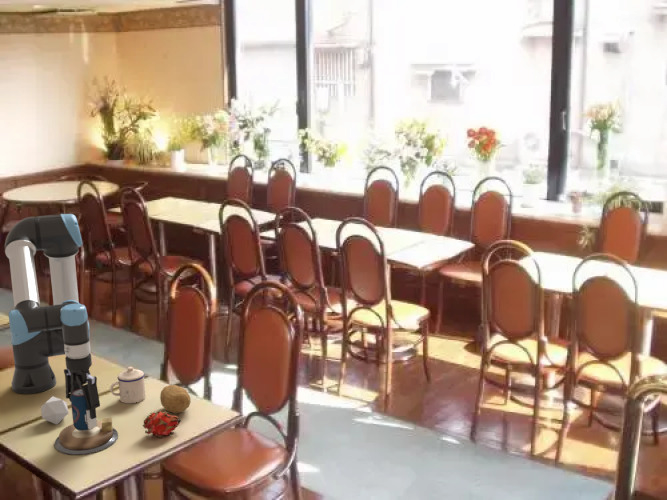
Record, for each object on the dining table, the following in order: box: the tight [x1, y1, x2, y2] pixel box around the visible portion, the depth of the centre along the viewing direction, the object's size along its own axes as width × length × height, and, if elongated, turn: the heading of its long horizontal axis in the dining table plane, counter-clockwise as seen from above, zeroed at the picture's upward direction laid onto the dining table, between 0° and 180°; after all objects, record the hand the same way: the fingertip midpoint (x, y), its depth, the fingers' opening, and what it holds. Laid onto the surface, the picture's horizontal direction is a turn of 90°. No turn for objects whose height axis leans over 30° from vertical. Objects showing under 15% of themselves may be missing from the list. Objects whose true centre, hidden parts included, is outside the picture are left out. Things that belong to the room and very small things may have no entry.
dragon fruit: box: [142, 411, 181, 439], centre depth 255 cm, size 8×8×12 cm
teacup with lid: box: [109, 366, 146, 404], centre depth 281 cm, size 12×9×12 cm
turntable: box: [58, 417, 114, 450], centre depth 253 cm, size 16×16×5 cm
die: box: [40, 395, 69, 425], centre depth 266 cm, size 8×9×10 cm
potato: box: [159, 384, 191, 414], centre depth 272 cm, size 10×14×8 cm
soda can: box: [70, 388, 98, 431], centre depth 251 cm, size 7×7×12 cm
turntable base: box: [54, 427, 119, 456], centre depth 253 cm, size 19×19×1 cm
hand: (85, 423), depth 252 cm, fingers closed on soda can, 7 cm apart
